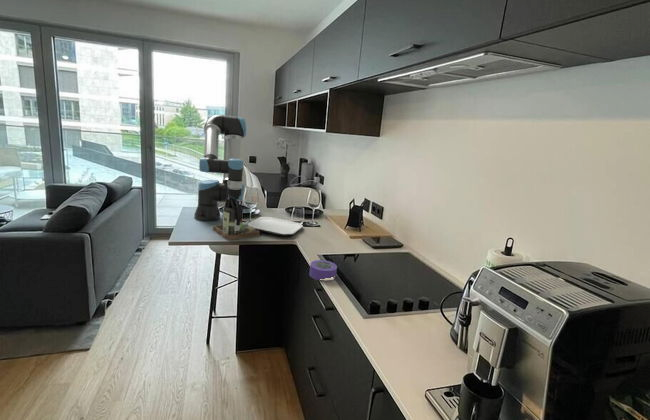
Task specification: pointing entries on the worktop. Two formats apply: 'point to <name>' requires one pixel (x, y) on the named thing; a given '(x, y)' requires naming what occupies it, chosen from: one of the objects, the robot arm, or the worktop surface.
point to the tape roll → (322, 269)
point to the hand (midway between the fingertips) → (232, 227)
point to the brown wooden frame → (234, 236)
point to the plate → (275, 226)
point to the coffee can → (230, 221)
